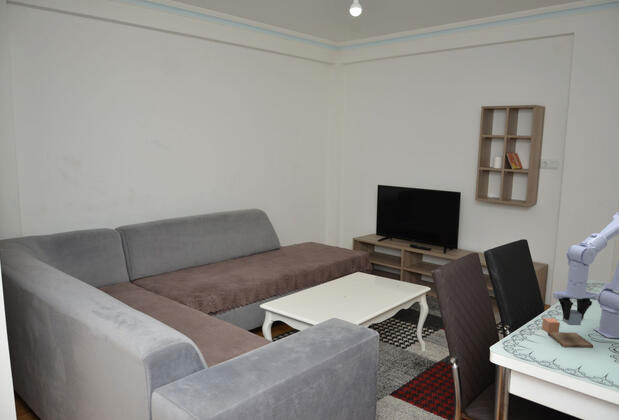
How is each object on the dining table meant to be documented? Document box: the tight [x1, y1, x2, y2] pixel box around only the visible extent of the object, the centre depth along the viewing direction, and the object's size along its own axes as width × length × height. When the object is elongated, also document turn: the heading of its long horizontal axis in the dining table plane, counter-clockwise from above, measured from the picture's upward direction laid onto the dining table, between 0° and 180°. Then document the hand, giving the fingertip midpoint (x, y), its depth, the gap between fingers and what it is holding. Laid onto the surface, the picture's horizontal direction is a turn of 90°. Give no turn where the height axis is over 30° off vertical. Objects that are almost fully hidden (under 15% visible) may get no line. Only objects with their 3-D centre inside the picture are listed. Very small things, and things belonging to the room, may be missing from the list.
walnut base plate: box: [547, 331, 594, 349], centre depth 161 cm, size 10×10×1 cm
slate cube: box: [562, 309, 582, 326], centre depth 160 cm, size 4×4×4 cm
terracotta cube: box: [541, 317, 561, 334], centre depth 170 cm, size 4×4×4 cm
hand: (572, 319), depth 160 cm, fingers closed on slate cube, 4 cm apart
